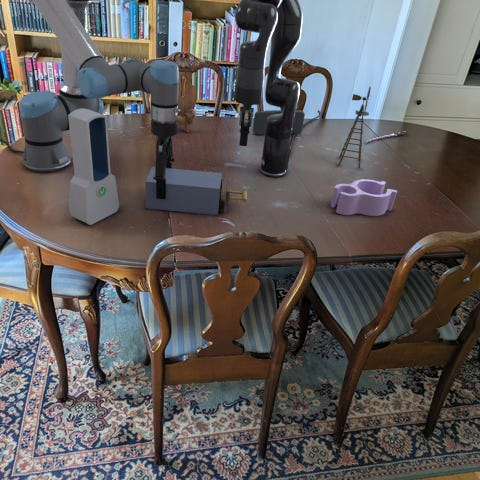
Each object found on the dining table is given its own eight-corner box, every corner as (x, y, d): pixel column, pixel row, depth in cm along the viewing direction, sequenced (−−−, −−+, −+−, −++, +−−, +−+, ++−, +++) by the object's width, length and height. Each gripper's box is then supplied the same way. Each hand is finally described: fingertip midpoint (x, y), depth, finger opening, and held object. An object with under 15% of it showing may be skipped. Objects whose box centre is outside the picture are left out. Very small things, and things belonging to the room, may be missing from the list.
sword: (403, 131, 224) (404, 129, 223) (408, 133, 222) (409, 131, 221) (360, 143, 208) (360, 140, 207) (365, 145, 206) (366, 142, 205)
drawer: (246, 199, 149) (248, 179, 145) (245, 214, 141) (247, 193, 137) (165, 191, 149) (165, 171, 145) (160, 206, 141) (160, 185, 137)
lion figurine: (194, 127, 202) (194, 107, 197) (197, 132, 198) (198, 111, 193) (160, 128, 197) (160, 107, 192) (163, 133, 193) (163, 112, 188)
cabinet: (220, 198, 150) (222, 173, 145) (217, 215, 141) (219, 188, 136) (152, 192, 149) (152, 166, 145) (145, 208, 140) (145, 181, 136)
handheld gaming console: (299, 131, 211) (303, 109, 205) (302, 133, 208) (305, 111, 203) (251, 133, 203) (254, 110, 198) (254, 135, 201) (256, 112, 196)
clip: (342, 219, 146) (347, 199, 142) (324, 200, 156) (328, 181, 152) (396, 213, 152) (402, 195, 148) (375, 196, 162) (380, 178, 158)
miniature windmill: (359, 169, 181) (379, 91, 164) (338, 165, 182) (355, 87, 165) (359, 160, 188) (378, 84, 172) (338, 156, 189) (355, 81, 173)
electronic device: (87, 227, 129) (77, 121, 112) (68, 218, 132) (56, 113, 115) (120, 210, 138) (114, 110, 122) (101, 202, 141) (94, 103, 125)
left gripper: (171, 135, 121) (170, 209, 133) (183, 108, 141) (181, 174, 153) (142, 132, 121) (144, 206, 133) (158, 105, 141) (158, 172, 152)
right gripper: (263, 92, 120) (256, 155, 129) (262, 79, 131) (255, 138, 140) (234, 89, 120) (229, 152, 129) (236, 76, 131) (231, 135, 140)
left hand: (164, 189), depth 143 cm, fingers closed on cabinet, 11 cm apart
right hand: (243, 145), depth 134 cm, fingers closed
